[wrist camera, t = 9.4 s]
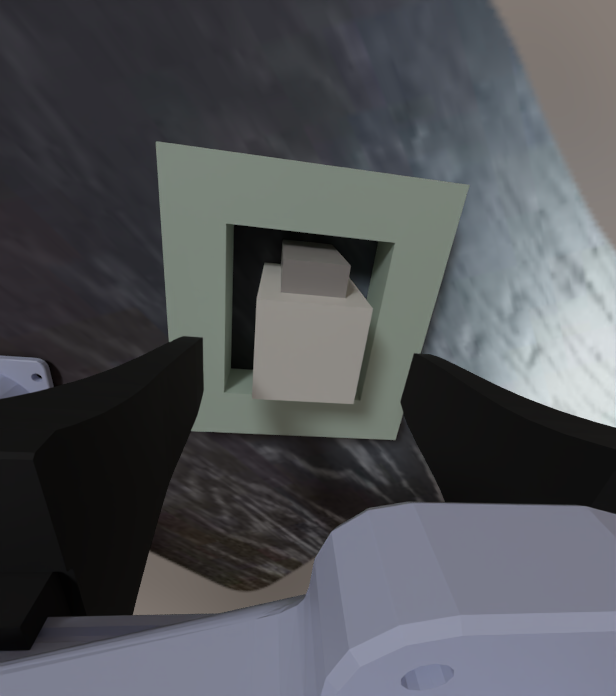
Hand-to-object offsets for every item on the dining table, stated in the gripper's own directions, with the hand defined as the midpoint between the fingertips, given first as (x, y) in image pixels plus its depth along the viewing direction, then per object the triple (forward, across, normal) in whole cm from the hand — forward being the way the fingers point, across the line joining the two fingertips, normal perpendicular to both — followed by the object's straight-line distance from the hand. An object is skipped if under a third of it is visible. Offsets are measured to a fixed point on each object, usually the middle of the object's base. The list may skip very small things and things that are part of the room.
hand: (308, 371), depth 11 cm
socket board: (+7, 0, 0) cm, 7 cm away
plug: (+7, 0, 0) cm, 7 cm away
